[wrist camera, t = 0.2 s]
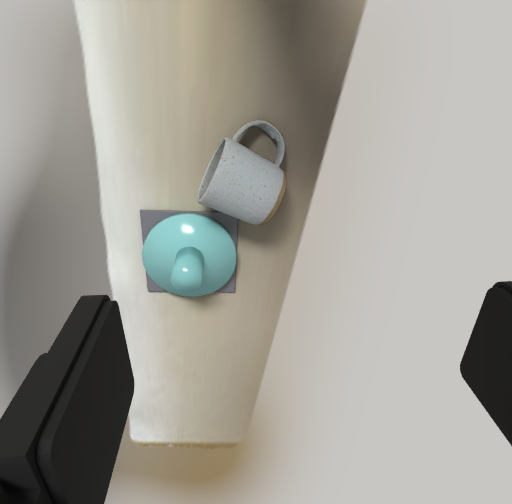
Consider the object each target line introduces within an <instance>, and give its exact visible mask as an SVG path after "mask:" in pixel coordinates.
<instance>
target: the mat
mask: <svg viewBox="0 0 512 504" xmlns="http://www.w3.org/2000/svg"><path fill="white" fill-rule="evenodd" d="M188 212H190V213H198V214H203V215H206V216H208V217H210V218H213V219H214V220H216V221H218V222H219V223H220V224H222V225H223V226H224V227H225V228H226V229H227V230H228V232H229V233H230V235H231V237H232V238H233V241H234V244H235V248H236V246H237V221H238V218H235V217H233V216H230V215H227V214H225V213H222V212H201V211H165V210H140V217H141V227H142V237H143V246H144V242H145V240H146V238H147V235H148V233H149V232H150V230H151V229H152V228H153V227H154V226H155V225H156V224H157V223H158V222H159V221H161V220H162V219H164V218H166V217H168V216H170V215H174V214H178V213H188ZM235 272H236V266H235V269H234V272H233V274H232V276H231V277H230V279H229V280H228V281H227V283H226V284H225V285H223V286H222V287H221V288H219V289H218V290H216V291H214V292H235ZM146 277H147V287H148V291H166V290H164V289H163V288H161V287H160V286H158V285H157V284H156V283H155V282H154V281H153V280H152V279H151V278H150V276H149V275H148V273H147V271H146Z"/></svg>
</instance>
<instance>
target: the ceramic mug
mask: <svg viewBox="0 0 512 504" xmlns="http://www.w3.org/2000/svg"><path fill="white" fill-rule="evenodd" d="M252 126H257V127H259V128H261V129H262V130H264V131H265V132H267V133H268V134H269V135H270V136H271V138H272V139H275V140H276V142H277V147H278V152H277V157H276V161H275V163H272V162H270V161H269V160H267V159H265V158H263V157H261V156H259V155H258V154H256V153H254V152H253V151H251V150H249V149H248V148H246V147H244V146H243V145H241V144H239V143H238V141H237V140H238V137H239V136H240V135H241V134H242V133H243V132H244V131H245V130H246V129H247V128H249V127H252ZM284 151H285V144H284V140H283V138H282V135H281V133H280V132H279V131H278V130H277V129H276V128H275V127H274V126H273V125H271V124H270V123H268V122H266V121H263V120H255V121H252V122H249V123H247V124H246V125H244V126H243V127H241V128H240V129H239V130H238V131H237V133H236V134H235V135H234V136H233V138H232V139H230V138H228V137H226V138H224V139H223V140H222V141H221V143H220V144H219V146H218V147H217V149H216V151H215V153H214V155H213V156H212V158H211V161H210V163H209V165H208V167H207V170H206V172H205V174H204V177H203V179H202V182H201V185H200V188H199V191H198V197H197V199H198V202H199V203H200V204H202V205H205V206H207V207H210V208H213V209H215V210H217V211H220V212H222V213H225V214H227V215H230V216H233V217H235V218H238V219H240V220H242V221H245V222H247V223H251V224H256V225H262V224H264V223H266V222H267V221H268V220H270V219H271V218H272V216H273V215H274V214H275V212H276V211H277V209H278V207H279V205H280V203H281V201H282V199H283V196H284V193H285V189H286V184H287V180H286V175H285V173H284V171H283V170H281V169H280V167H279V166H280V164H281V162H282V160H283V156H284Z"/></svg>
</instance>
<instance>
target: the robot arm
mask: <svg viewBox="0 0 512 504" xmlns="http://www.w3.org/2000/svg"><path fill="white" fill-rule="evenodd" d="M460 371H461V374H462V377H463V378H464V380H465V381H466V383H467V384H468V386H469V387H470V388H471V390H472V391H473V393H474V394H475V395H476V397H477V398H478V400H479V401H480V402H481V404H482V405H483V406H484V408H485V409H486V411H487V412H488V413H489V415H490V416H491V418H492V419H493V420H494V422H495V423H496V425H497V426H498V427H499V429H500V430H501V432H502V433H503V434H504V436H505V437H506V438H507V440H508V441H509V442H510V444H511V446H512V281H507V282H497V283H496V284H495V285H493V287H492V288H490V289H489V290H488V291H487V293H486V296H485V299H484V301H483V304H482V307H481V309H480V312H479V315H478V318H477V320H476V323H475V326H474V328H473V331H472V334H471V337H470V339H469V342H468V345H467V347H466V350H465V353H464V355H463V358H462V361H461V364H460ZM133 393H134V377H133V373H132V368H131V363H130V358H129V354H128V349H127V344H126V339H125V335H124V330H123V325H122V320H121V315H120V311H119V306H118V303H117V301H110V298H109V296H107V295H90V296H81V298H80V299H79V301H78V302H77V304H76V306H75V307H74V309H73V311H72V312H71V314H70V316H69V318H68V319H67V321H66V323H65V324H64V326H63V328H62V330H61V331H60V333H59V335H58V336H57V338H56V340H55V341H54V343H53V345H52V346H51V348H50V350H49V352H48V353H44V354H42V355H40V356H39V358H38V359H37V360H36V361H35V363H34V365H33V366H32V368H31V370H30V371H29V373H28V375H27V376H26V378H25V380H24V381H23V383H22V385H21V386H20V388H19V389H18V391H17V393H16V394H15V396H14V398H13V399H12V401H11V403H10V404H9V406H8V408H7V409H6V411H5V412H4V414H3V416H2V418H1V419H0V504H104V502H105V498H106V494H107V491H108V487H109V483H110V480H111V476H112V472H113V468H114V464H115V461H116V457H117V454H118V450H119V446H120V442H121V438H122V434H123V431H124V427H125V424H126V420H127V416H128V413H129V409H130V405H131V401H132V398H133Z"/></svg>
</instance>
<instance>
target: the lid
mask: <svg viewBox="0 0 512 504" xmlns="http://www.w3.org/2000/svg"><path fill="white" fill-rule="evenodd" d="M142 259H143V264H144V267H145V269H146V271H147V273H148V275H149V276H150V278H151V279H152V280H153V281H154V282H155V283H156V284H157V285H158V286H160V287H161V288H163V289H164V290H166V291H168V292H170V293H173V294H176V295H180V296H187V297H197V296H203V295H207V294H210V293H212V292H214V291H216V290H218V289H219V288H221V287H222V286H223V285H225V284H226V283H227V281H228V280H229V279H230V277H231V276H232V274H233V272H234V269H235V266H236V248H235V244H234V241H233V238H232V237H231V235H230V233H229V232H228V230H227V229H226V228H225V227H224V226H223V225H222V224H220V223H219V222H218V221H216V220H214V219H213V218H210V217H208V216H206V215H203V214H198V213H190V212H188V213H178V214H174V215H170V216H168V217H166V218H164V219H162V220H161V221H159V222H158V223H157V224H156V225H155V226H154V227H153V228H152V229H151V230H150V232H149V233H148V235H147V238H146V240H145V242H144V246H143V251H142Z"/></svg>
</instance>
